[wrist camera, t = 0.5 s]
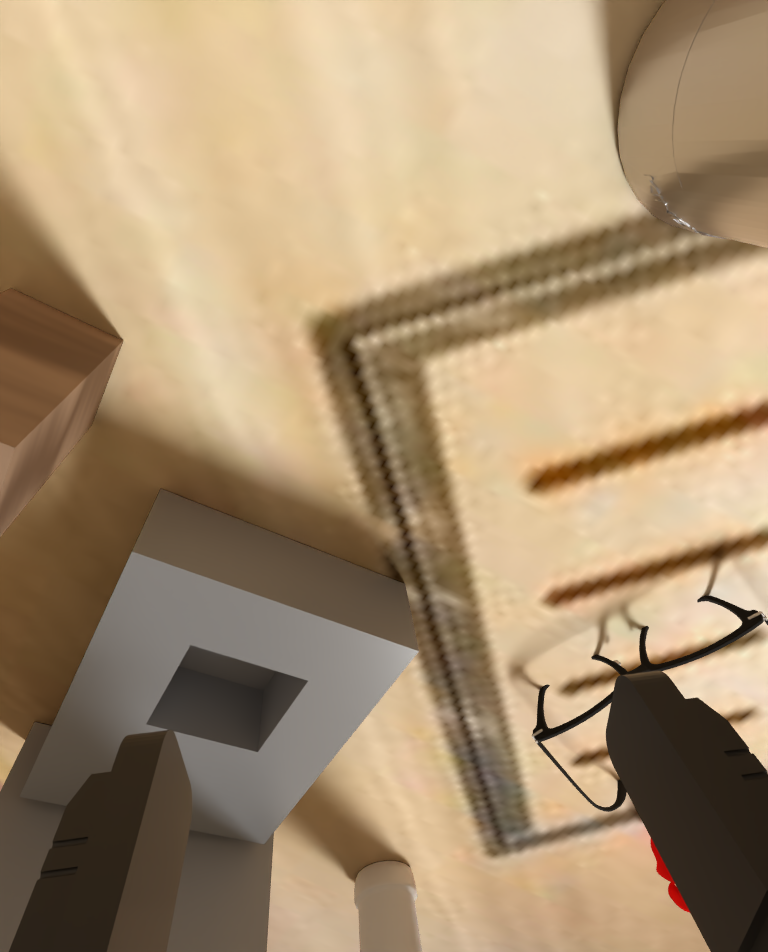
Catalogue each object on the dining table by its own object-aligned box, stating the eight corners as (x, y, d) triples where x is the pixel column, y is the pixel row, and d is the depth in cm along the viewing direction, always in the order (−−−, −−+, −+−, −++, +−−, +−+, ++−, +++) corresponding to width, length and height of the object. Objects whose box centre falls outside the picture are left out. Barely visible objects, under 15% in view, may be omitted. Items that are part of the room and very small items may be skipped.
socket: (160, 488, 28) (131, 551, 23) (405, 584, 32) (418, 651, 28) (56, 715, 34) (19, 797, 30) (269, 767, 39) (264, 844, 35)
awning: (48, 666, 32) (-329, 1395, 13) (316, 738, 38) (316, 1324, 19) (17, 739, 35) (-334, 1434, 16) (271, 796, 41) (233, 1361, 22)
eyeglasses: (731, 565, 35) (777, 610, 31) (802, 690, 42) (846, 739, 38) (505, 694, 39) (524, 747, 35) (605, 789, 46) (629, 841, 42)
